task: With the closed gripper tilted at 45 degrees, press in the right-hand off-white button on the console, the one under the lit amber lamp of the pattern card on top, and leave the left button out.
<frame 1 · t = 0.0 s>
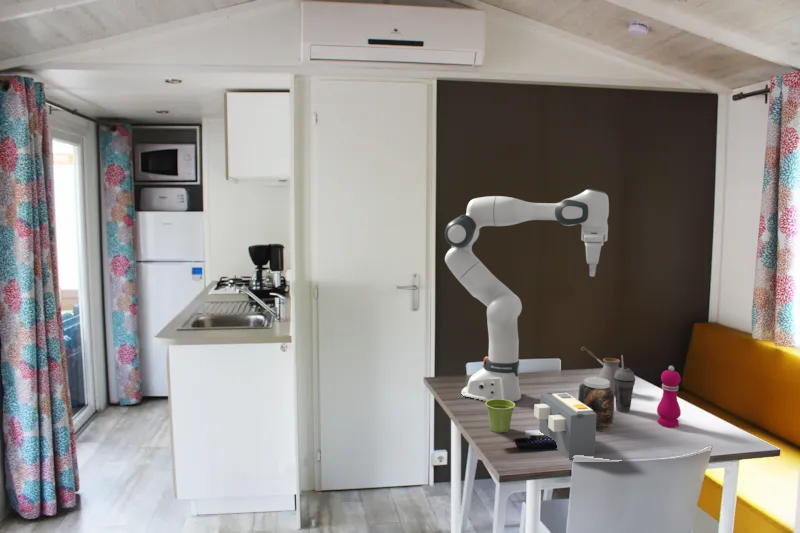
hand: (592, 274, 213), 48 cm above the table, tool pointing down, fingers open, 8 cm apart
console: (565, 444, 183), on the table
coffee pot: (600, 389, 239), on the table
plant pot: (499, 430, 194), on the table
jar: (594, 425, 200), on the table
button left: (544, 411, 185), point 9 cm above the table, slide at 0.0 cm
beverage cup: (622, 411, 214), on the table
button right: (558, 423, 176), point 9 cm above the table, slide at 0.0 cm
pepper mill: (667, 424, 201), on the table
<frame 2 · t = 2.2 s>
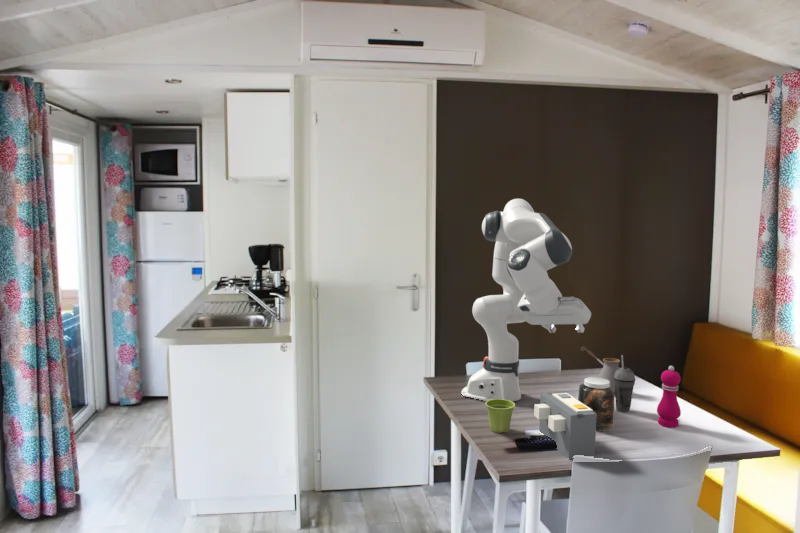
hand: (567, 331, 175), 36 cm above the table, tool tilted 40°, fingers open, 8 cm apart
nothing on the table moved.
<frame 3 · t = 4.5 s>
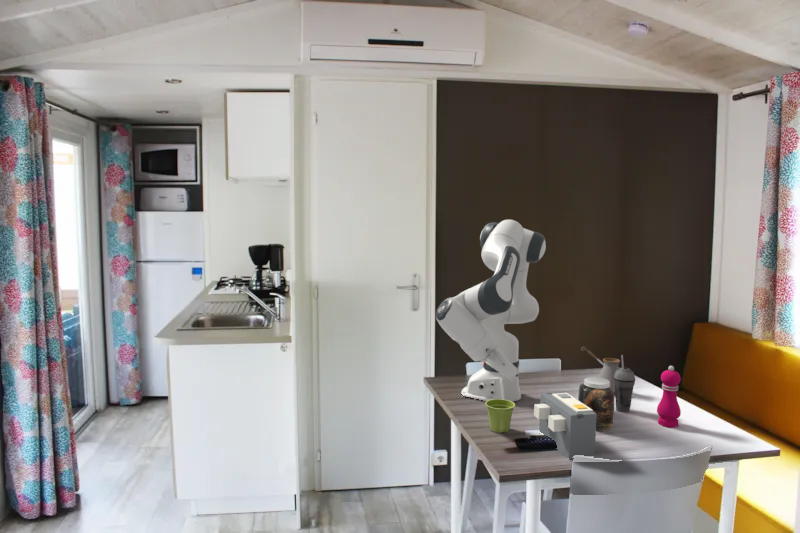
hand: (513, 378, 171), 23 cm above the table, tool tilted 45°, fingers closed
nothing on the table moved.
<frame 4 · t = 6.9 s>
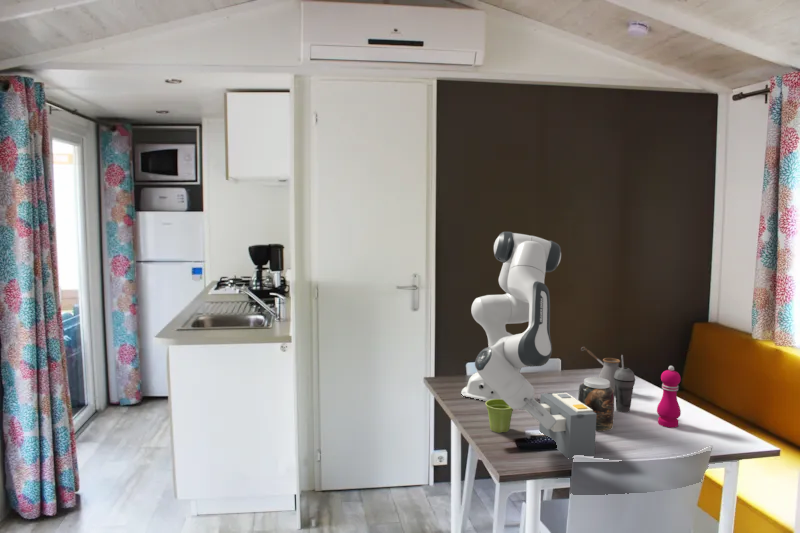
hand: (548, 424, 175), 9 cm above the table, tool tilted 45°, fingers closed, pressing on button right
button right: (559, 423, 176), point 9 cm above the table, slide at 0.0 cm, touching gripper
everything else where it was.
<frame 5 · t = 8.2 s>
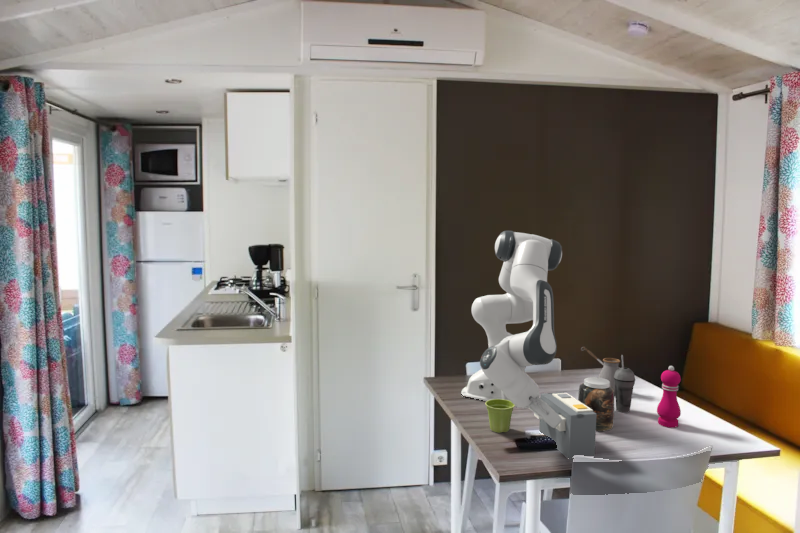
hand: (553, 423, 175), 9 cm above the table, tool tilted 45°, fingers closed
button right: (565, 422, 176), point 9 cm above the table, slide at 1.9 cm
everything else where it was.
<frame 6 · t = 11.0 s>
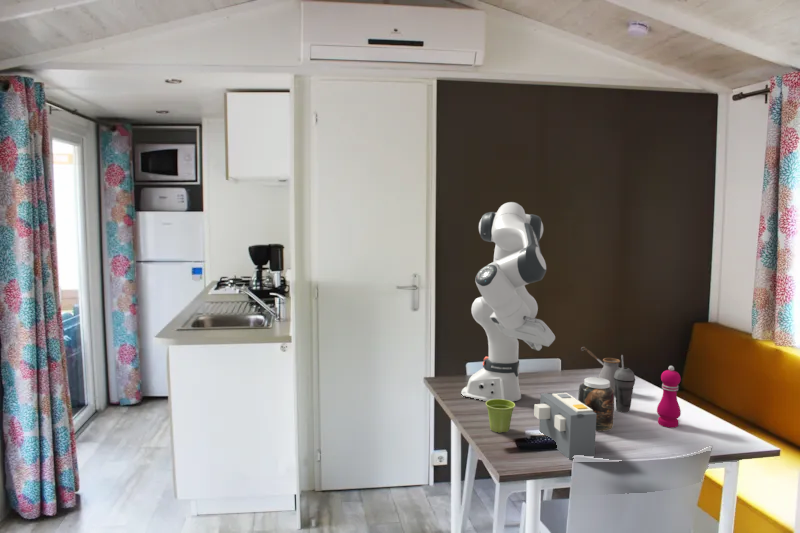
hand: (537, 348, 176), 31 cm above the table, tool tilted 40°, fingers closed
nothing on the table moved.
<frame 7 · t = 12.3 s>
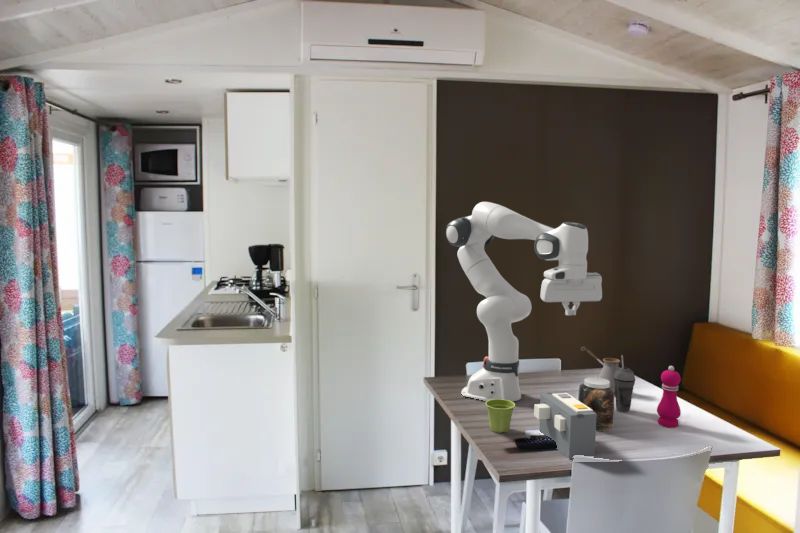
hand: (570, 315, 195), 37 cm above the table, tool pointing down, fingers closed
nothing on the table moved.
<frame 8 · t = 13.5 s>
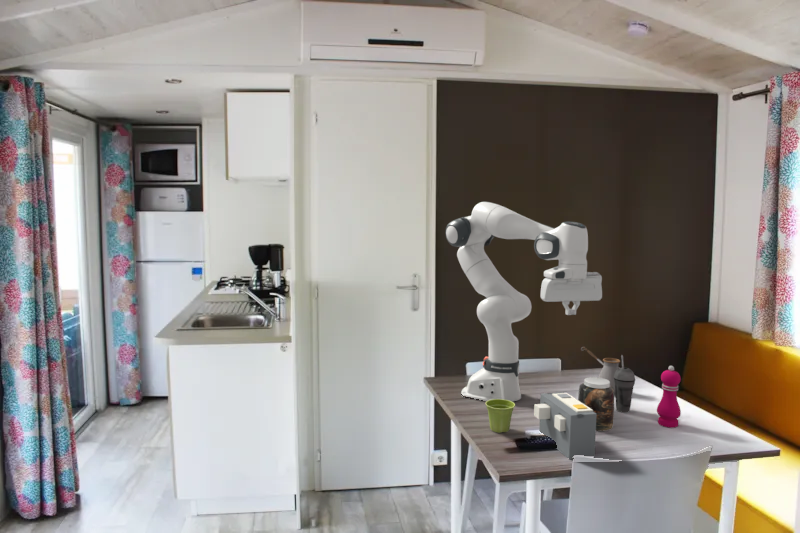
hand: (570, 314, 195), 37 cm above the table, tool pointing down, fingers closed
nothing on the table moved.
at the end: button right slide at 1.9 cm; button left slide at 0.0 cm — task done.
